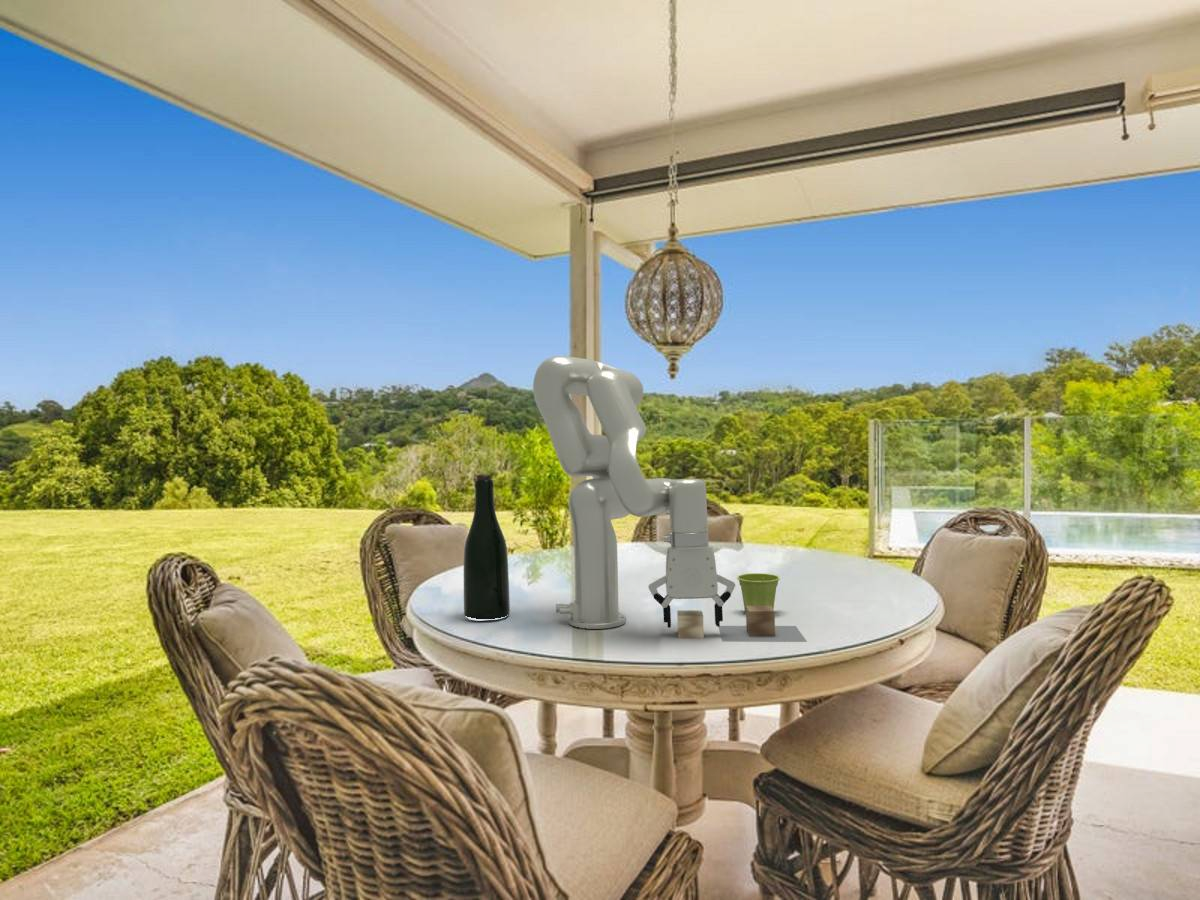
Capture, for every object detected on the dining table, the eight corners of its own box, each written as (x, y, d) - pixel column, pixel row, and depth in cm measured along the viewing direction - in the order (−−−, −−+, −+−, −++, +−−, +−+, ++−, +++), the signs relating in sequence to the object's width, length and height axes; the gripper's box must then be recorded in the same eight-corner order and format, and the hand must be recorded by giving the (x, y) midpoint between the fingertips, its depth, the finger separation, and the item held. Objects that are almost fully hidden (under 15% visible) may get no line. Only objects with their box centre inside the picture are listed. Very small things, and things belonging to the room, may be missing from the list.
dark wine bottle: (472, 611, 172) (469, 473, 172) (515, 612, 170) (512, 473, 170) (457, 622, 162) (454, 475, 162) (502, 623, 160) (499, 474, 160)
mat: (722, 644, 139) (722, 641, 139) (718, 628, 151) (718, 625, 151) (807, 644, 138) (807, 641, 138) (795, 628, 150) (795, 625, 150)
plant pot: (781, 620, 157) (780, 581, 157) (737, 619, 159) (736, 580, 159) (779, 611, 166) (778, 573, 166) (738, 610, 168) (737, 572, 168)
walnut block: (749, 636, 142) (748, 611, 142) (746, 630, 147) (746, 605, 147) (775, 636, 142) (774, 611, 142) (771, 630, 147) (770, 605, 147)
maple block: (678, 641, 143) (677, 616, 143) (677, 634, 148) (677, 610, 148) (703, 641, 142) (703, 616, 142) (702, 634, 147) (701, 610, 147)
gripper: (645, 544, 142) (649, 631, 142) (734, 541, 140) (738, 629, 140) (646, 539, 149) (650, 622, 149) (731, 536, 148) (735, 620, 147)
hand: (693, 625), depth 145 cm, fingers open, 9 cm apart
